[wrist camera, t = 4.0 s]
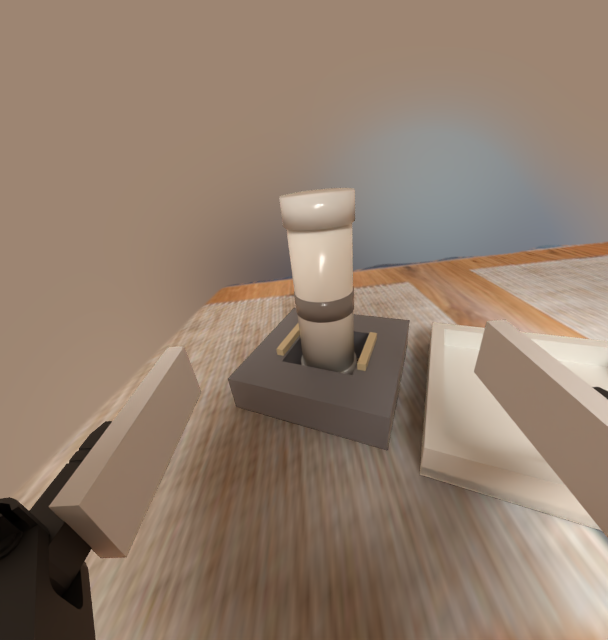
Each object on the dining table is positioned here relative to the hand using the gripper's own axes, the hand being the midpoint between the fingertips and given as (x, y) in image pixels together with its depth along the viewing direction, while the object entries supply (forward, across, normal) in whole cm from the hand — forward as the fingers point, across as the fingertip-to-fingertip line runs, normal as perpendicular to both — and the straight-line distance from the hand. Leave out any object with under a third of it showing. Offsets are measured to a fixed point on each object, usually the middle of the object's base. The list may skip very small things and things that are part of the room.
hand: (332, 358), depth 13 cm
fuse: (+9, 0, -9) cm, 13 cm away
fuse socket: (+9, 0, -9) cm, 13 cm away
